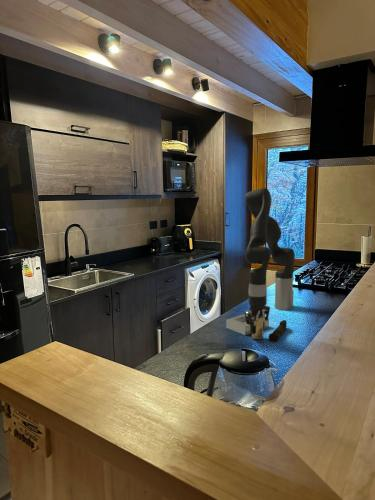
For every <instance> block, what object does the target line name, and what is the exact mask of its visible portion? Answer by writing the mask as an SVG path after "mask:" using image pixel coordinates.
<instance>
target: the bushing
mask: <svg viewBox="0 0 375 500" xmlns="http://www.w3.org/2000/svg"><path fill="white" fill-rule="evenodd" d="M253 318H255V317H253ZM253 321H254V320H253ZM253 321H252V322H253ZM255 326H256V334H252V333H251V339H254V340H262V339H263V338H264V331H263V317H262V316H261V317H258V320H257V321H256V325H255Z"/></svg>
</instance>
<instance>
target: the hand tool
mask: <svg viewBox="0 0 375 500" xmlns="http://www.w3.org/2000/svg"><path fill="white" fill-rule="evenodd" d="M287 325H288V323H287V320H286V319H282V320H281V321H280V322H279V325H278V326H277V327H276V328H275V329H274V331H272V332H271V333H269V335H268V341H270V342H272V343H277V342H278V341H279V339H280V337H281V336H282V335H283V334H284V333H286V331H287V328H288V327H287Z"/></svg>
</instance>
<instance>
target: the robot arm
mask: <svg viewBox="0 0 375 500" xmlns="http://www.w3.org/2000/svg"><path fill="white" fill-rule="evenodd" d="M244 200H245V203H246V206H247V208H248V210H249V211H250V213H251V215H252V216H253V218H254V219H253V222H252V224H251V226H250V231H249V232H250V233H249V242H248V244H247V247H246V249H245V252H244V260H245V261H246V263H247V264H250V265H251V264H258V265H260V266H259V267H257V268H252V269H250V270H249V273H248V277H249V279H248V281H249V282H248V283H249V284H248V304H249V310H247V311H244V314H245V319H246V323H247V324H248V325H250V332H251V333H250V334H251V335H252V334H256V326H255V325H256V321H257V320H258V317H261V316H262V317H263V332H264V331H265V328H264V323H265V321H266V320H268V319H269V315H270V312H271V311H270V309H271V307H270V306H268V305H267V301H268V300H267V299H268V298H267V296H268V295H267V293H268V292H267V291H268V290H267V289H268V288H267V271H268V266H269V264H270V260H271V258H272V261H273V262H274V263H275V264H276V265H281V266H284V268H283V269H281V270H276V272H275V274H274V275H275V276H274V277H275V279H274V282H275V284H274V291H275V292H274V308H275V309H277V310H280V311H281V310H283V311H287V310H288V311H289V310H292V309H293V307H294V290H293V287H294V269H295V259H296V258H295V257H296V256H295V250H294V249H293V248H290V247H280V246H279V244H278V243H279V241H280V239H281V237H282V229H281V228H280V225H279V223H278V221H277V220H276V219H275V218H273V216H270V213H271V207H272V195H271V192H270V190H269V189H268V188H266V187H263V188H258V189H255V190H250V191H248V192H246V194H245V196H244ZM265 245H267V246H265ZM253 317H255V318H253ZM253 320H254V321H253ZM252 321H253V322H252Z"/></svg>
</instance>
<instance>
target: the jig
mask: <svg viewBox="0 0 375 500" xmlns="http://www.w3.org/2000/svg"><path fill="white" fill-rule="evenodd" d="M225 325H226V329H229V330H231V331H233V332H236V333H239V334H242V335H243V336H247V335H250V334H252V333H251V332H250V325H248V324H247V323H246V319H245V314H241V315H237V316H234V317H231V318H227V319H226V324H225ZM269 327H270V318H268V320H266V321H265V323H264V329H266V328H269Z"/></svg>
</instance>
